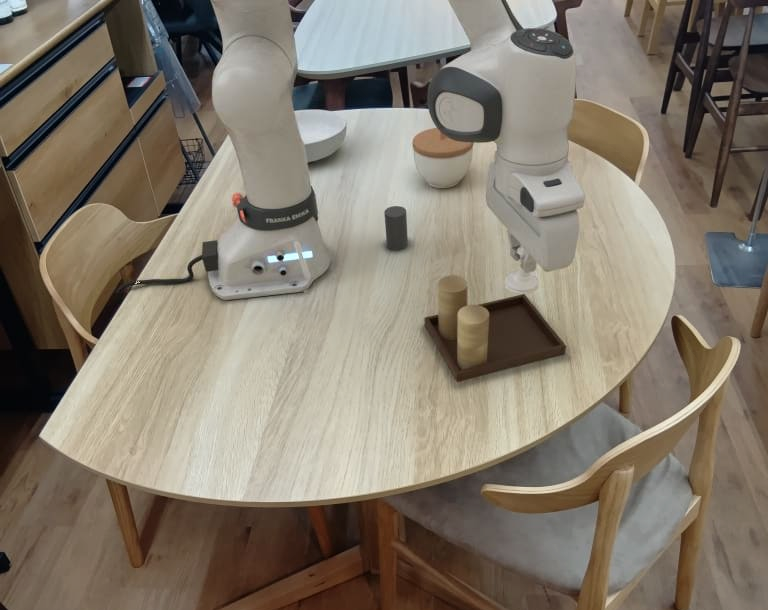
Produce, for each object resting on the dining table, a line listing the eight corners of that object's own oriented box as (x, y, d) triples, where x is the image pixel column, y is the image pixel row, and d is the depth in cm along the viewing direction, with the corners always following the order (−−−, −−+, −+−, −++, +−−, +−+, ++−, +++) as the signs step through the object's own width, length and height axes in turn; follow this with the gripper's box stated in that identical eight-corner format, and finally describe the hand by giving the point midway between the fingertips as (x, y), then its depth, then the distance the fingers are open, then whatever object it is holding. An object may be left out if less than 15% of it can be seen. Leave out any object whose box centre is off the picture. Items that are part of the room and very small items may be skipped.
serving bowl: (366, 144, 160) (363, 115, 155) (315, 181, 147) (311, 151, 143) (296, 130, 169) (292, 103, 164) (243, 164, 156) (237, 136, 151)
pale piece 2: (463, 375, 97) (464, 326, 91) (452, 357, 100) (452, 308, 94) (491, 368, 98) (494, 319, 92) (479, 350, 101) (481, 301, 95)
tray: (456, 385, 97) (456, 374, 95) (424, 328, 107) (424, 317, 105) (564, 357, 100) (566, 346, 98) (523, 305, 110) (524, 293, 108)
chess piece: (531, 297, 95) (537, 235, 88) (499, 288, 97) (502, 227, 90) (544, 279, 98) (551, 218, 91) (513, 271, 100) (517, 211, 93)
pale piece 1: (444, 342, 103) (443, 294, 97) (434, 326, 106) (433, 278, 100) (470, 336, 103) (472, 288, 97) (460, 320, 107) (461, 272, 100)
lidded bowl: (483, 184, 141) (485, 133, 134) (431, 200, 138) (430, 148, 130) (453, 162, 150) (453, 113, 142) (403, 176, 146) (401, 126, 139)
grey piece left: (390, 252, 124) (387, 218, 119) (384, 241, 127) (381, 208, 122) (410, 247, 125) (409, 214, 120) (404, 237, 128) (402, 204, 123)
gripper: (476, 145, 92) (473, 233, 102) (543, 212, 78) (534, 308, 87) (518, 136, 93) (512, 224, 103) (592, 201, 79) (577, 297, 88)
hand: (522, 263), depth 95 cm, fingers closed on chess piece
